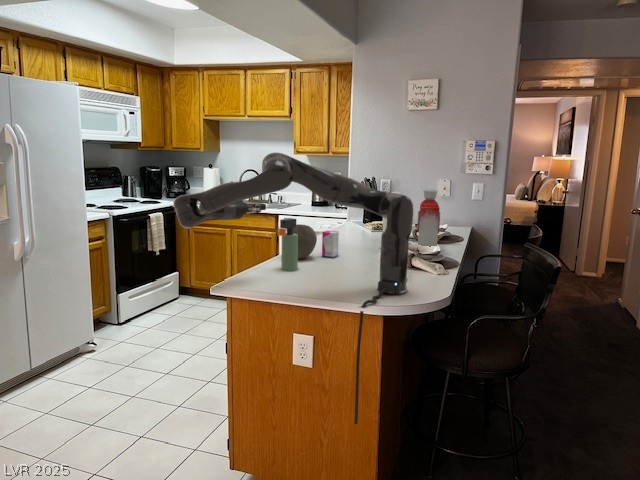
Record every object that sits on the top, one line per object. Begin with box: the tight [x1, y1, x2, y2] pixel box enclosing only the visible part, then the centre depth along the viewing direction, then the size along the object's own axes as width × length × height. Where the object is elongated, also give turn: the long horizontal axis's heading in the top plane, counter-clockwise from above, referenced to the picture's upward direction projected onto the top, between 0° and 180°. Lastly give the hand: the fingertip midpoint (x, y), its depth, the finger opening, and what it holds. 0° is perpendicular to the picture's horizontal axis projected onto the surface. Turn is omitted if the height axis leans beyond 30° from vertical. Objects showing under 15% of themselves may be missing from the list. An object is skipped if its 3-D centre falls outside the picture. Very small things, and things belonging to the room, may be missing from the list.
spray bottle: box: [279, 217, 299, 272], centre depth 192 cm, size 8×6×20 cm
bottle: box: [416, 188, 441, 247], centre depth 230 cm, size 14×10×30 cm
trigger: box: [278, 228, 287, 237], centre depth 188 cm, size 1×3×3 cm, turn 53°
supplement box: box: [321, 230, 340, 259], centre depth 218 cm, size 6×6×12 cm
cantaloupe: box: [293, 223, 318, 260], centre depth 213 cm, size 14×14×15 cm
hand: (264, 206), depth 179 cm, fingers closed
